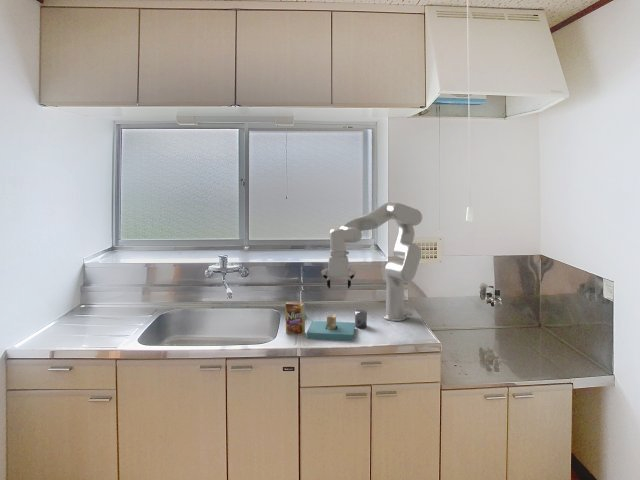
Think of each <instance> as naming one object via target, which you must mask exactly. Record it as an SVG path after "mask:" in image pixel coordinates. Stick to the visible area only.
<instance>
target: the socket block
mask: <svg viewBox="0 0 640 480" xmlns="http://www.w3.org/2000/svg"><path fill="white" fill-rule="evenodd" d="M355 328H356V327H355V322H347V321H346V322H345V321H336V330H330V329H327V320H326V321H325V320H324V321H323V320H311V322H310V325H309V326H308V329H307V331H306V339H310V340H325V341H326V340H327V341H344V342H345V341H347V342H354V337H355Z"/></svg>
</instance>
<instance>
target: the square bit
mask: <svg viewBox="0 0 640 480" xmlns="http://www.w3.org/2000/svg"><path fill="white" fill-rule="evenodd" d="M326 321H327V329H330V330H336V322H337V314H331V313H330V314H329V313H328V314H327V316H326Z"/></svg>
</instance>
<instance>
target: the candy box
mask: <svg viewBox="0 0 640 480" xmlns="http://www.w3.org/2000/svg"><path fill="white" fill-rule="evenodd" d="M285 333H286V334H293V335H300V336H303V335H304V334H305V333H306V303H304V302H296V301H286V303H285Z"/></svg>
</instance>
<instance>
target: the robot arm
mask: <svg viewBox="0 0 640 480" xmlns="http://www.w3.org/2000/svg"><path fill="white" fill-rule="evenodd" d="M390 220H394V221H395V222H396V225H397V227H398V234H397V238H396V242H395V243H394V244H395V245H394V247H393V253H392V255H393V256H394V257H395V258H396V259H399V260H402V261H398V260H394V259H393V260H390V261H388V262H386V265H385V268H384V273H385V281H386V283H385V284H386V288H385V289H386V290H385V292H386V293H385V295H386V296H385V312H384V313H383V314H382V318H383V319H385V320H386V321H390V322H391V321H392V322H398V321H399V322H402V321H405V320H406V319H407V316H413V312H412V311H410V310H405V308H404V307H405V302H404V301H405V283H404V282H407V283H409V282H412V281H413V279H414V278H415V276H416V274H417V272H418V271H417V270H418V267H419V264H420V261H421V259H422V258H421V257H422V251H421V248H420V246H419V245H418V244H416V243H413V242H414V239H415V228H414V227H415V226H418V225H419V224H421V223H422V220H423V215H422V212H421V211H420V210H418V208H417V209H416V208H414V207H411V206H408V205H406V204H403V203H399V202H385V203H384V204H382V205H380V206H379V207H377V208H375V209H374V210H372V211H370V212H369V213H367V214H364V215H362V216H359V217H356V218H353V219H351V220H349V221H347V222H346V223H344V224H342V225H341V226H340V227H339V228H332V229H330V231H329V240H330V242H329V246H330V247H329V248H330V255H329V257H328V266H327V268H324V269H322V270H321V275H322V277H323V278H324V279H325V280H326V286H327V287H328V289H331V278H346V279H347V289H350V287H351V286H352V280H353V278H355V276H356V273H357V270H355V269H353V268H351V267H350V265H349V264H350V263H349V257H348V256H349V254H350V253H349V251H347V249H346V248H347V246H346V245H347V244H355V243H359V242H360V241H361V240H362V237H363V233H362V232H364V231H369V230H371V231H372V230H374V229H378V228H379V227H380V226H383V225H384V224H385V223H387V222H389V221H390ZM327 272H328V275H327V274H326V273H327ZM350 272H351V273H352V274H351V275H350Z"/></svg>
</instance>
